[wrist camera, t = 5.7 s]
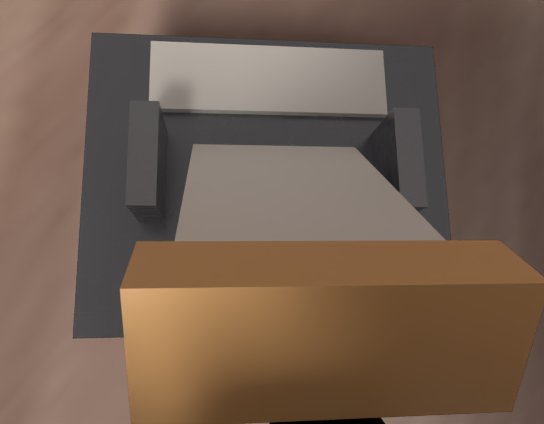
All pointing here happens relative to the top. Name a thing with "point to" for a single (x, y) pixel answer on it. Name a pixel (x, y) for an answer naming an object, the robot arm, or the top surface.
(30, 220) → the top surface
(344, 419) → the robot arm
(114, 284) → the box
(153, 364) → the lever
